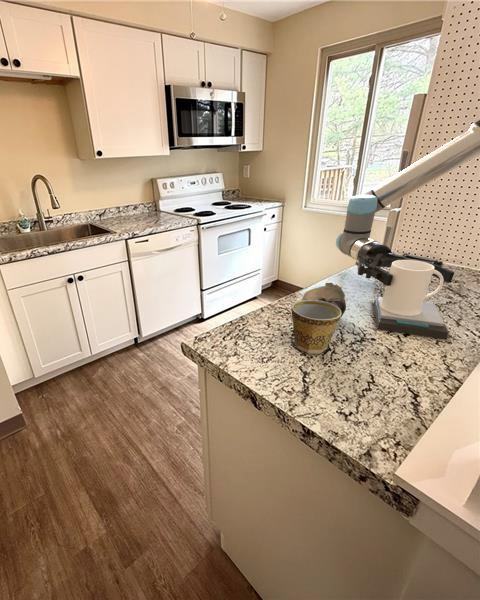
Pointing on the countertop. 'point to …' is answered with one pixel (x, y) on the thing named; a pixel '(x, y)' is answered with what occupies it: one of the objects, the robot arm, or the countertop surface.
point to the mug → (409, 287)
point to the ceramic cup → (314, 324)
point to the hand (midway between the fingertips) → (420, 279)
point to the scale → (412, 321)
